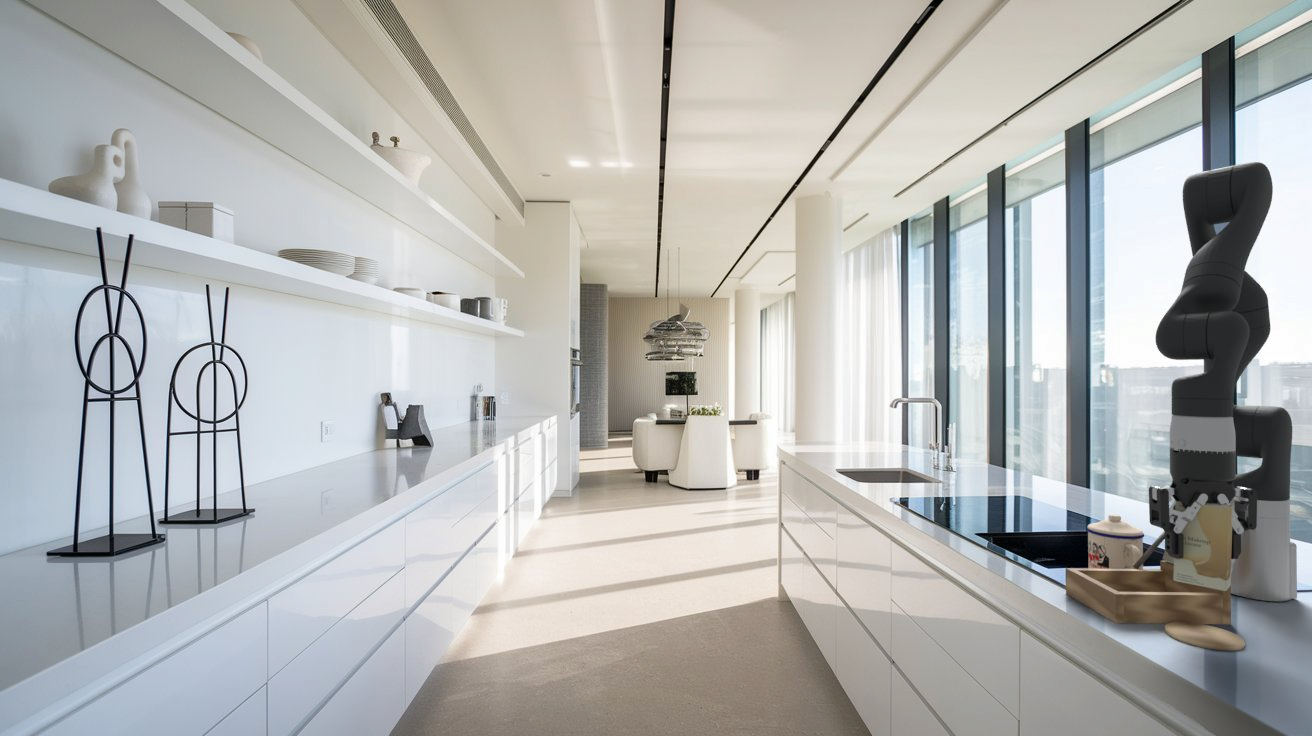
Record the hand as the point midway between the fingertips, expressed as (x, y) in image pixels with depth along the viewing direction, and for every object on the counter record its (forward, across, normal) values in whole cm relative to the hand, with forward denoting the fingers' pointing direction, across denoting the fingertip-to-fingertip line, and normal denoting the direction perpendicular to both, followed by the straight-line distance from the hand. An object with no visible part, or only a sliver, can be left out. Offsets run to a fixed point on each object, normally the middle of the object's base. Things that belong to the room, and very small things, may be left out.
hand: (1202, 557), depth 96 cm
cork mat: (+12, 0, 0) cm, 12 cm away
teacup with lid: (+12, -6, -28) cm, 31 cm away
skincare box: (+4, 0, 0) cm, 4 cm away
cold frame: (+12, -1, -12) cm, 17 cm away
